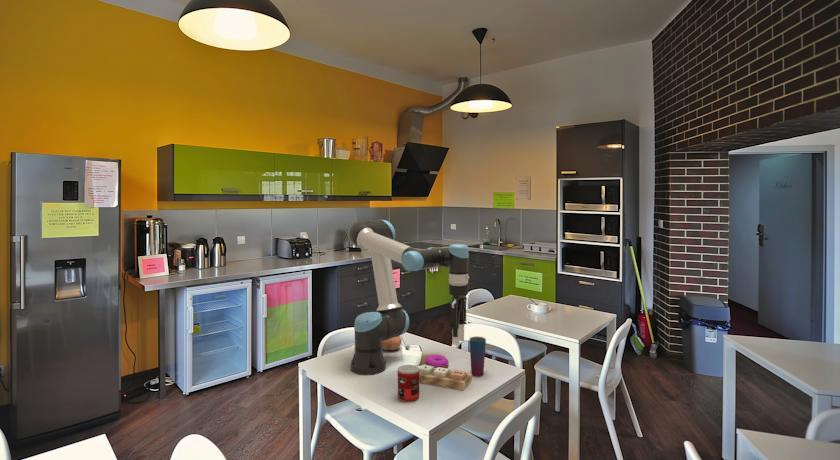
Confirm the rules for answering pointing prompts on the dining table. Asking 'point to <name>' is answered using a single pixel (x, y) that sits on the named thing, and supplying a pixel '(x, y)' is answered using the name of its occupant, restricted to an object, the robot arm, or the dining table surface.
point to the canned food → (408, 383)
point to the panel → (445, 380)
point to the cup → (477, 355)
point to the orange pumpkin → (391, 343)
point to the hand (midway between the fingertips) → (458, 342)
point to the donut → (436, 361)
